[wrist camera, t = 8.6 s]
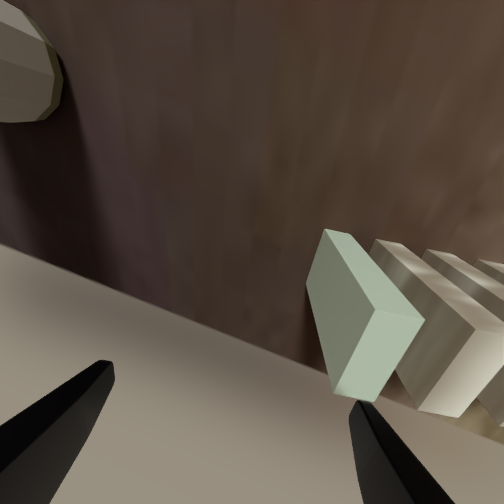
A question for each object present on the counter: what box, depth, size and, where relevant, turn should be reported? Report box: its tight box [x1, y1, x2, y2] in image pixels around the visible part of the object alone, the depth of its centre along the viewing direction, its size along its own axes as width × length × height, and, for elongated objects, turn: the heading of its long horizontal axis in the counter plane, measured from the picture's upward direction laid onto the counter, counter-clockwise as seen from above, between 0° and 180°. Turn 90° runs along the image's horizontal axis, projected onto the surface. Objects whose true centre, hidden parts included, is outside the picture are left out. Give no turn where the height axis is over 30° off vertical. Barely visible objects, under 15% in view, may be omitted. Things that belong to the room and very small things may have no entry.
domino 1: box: [306, 229, 425, 402], centre depth 15 cm, size 2×5×10 cm, turn 169°
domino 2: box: [369, 239, 504, 418], centre depth 15 cm, size 2×5×10 cm, turn 170°
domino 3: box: [421, 249, 504, 427], centre depth 15 cm, size 2×5×10 cm, turn 170°
